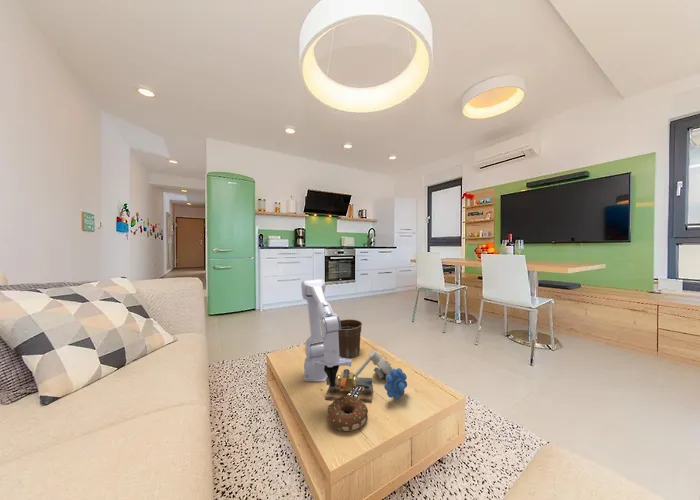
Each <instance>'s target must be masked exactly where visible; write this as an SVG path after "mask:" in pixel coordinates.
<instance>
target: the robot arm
mask: <svg viewBox="0 0 700 500" xmlns="http://www.w3.org/2000/svg"><path fill="white" fill-rule="evenodd" d="M325 290H326V282H325V280H324V279H323V278H319V279H318V278H316V279H307V280H302V282H301V296H302V300H303V299H304V300H306V303H307V311H308V321H309V330H310V336H309V337H308V338H307V339H306V340H305V347H304V349H305V358H304V363H303V369H304V370H303V371H304V379H303V380H304V381H305V382H318V383H319V382H321V383H324V382H325V383H326V380H327V376H328V378H329V381H330V385H331V386H334V385H335V379H336V377H337V373H338V372H339V368H340V366H343V367H345V366H347V367H349V368H351V367H352V365H353V364H352V361H353V360H352V358H342V357H341V356H339V335H338V331H340V328H341V324H340V320H341V319H340V316H339V315H338V314H337V313H335V312H334V310H333V308H332V306H331V303H330V302H328V301H327V300H326V296H325Z"/></svg>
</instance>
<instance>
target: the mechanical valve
mask: <svg viewBox="0 0 700 500" xmlns="http://www.w3.org/2000/svg"><path fill="white" fill-rule="evenodd" d="M371 361H372V362H371ZM370 362H371V363H372V364H373V365H374V366H375V368H374V369H373V371H374V372H375V373H376V374H377V376H378V377H379V378H380V379H384V377H385V376H387V375H388V374H389V375H390V371H391V370H392V369H395V367H392V366H391V365H392V364H391V363H390V362H389V361H388V360H387V359H385V358H383V356H382V355H381V354H379V353H378V352H377V351H376V350H375V349H372V350H371V351H370V352H369V353H368V358H367V359H366V360H365V361H364V362H363V363H362V364H361V366H360V367H358V369H357V370H356V371H355V372H354V376H357V377H358V376H359V375H360V374H361V372H362V371H363V370H364V369H365V368H366V366H367V365H368V364H369V363H370ZM396 369H397V368H396ZM396 369H395V370H396ZM384 374H385V375H384Z"/></svg>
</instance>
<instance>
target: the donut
mask: <svg viewBox="0 0 700 500" xmlns="http://www.w3.org/2000/svg"><path fill="white" fill-rule="evenodd" d="M346 412H348V413H346ZM368 412H369V410H368V407H367V405H366V403H365V402H363V401H361V400H359V399H358V398H357V397H353V396H346V397H345V396H344V397H340V398H337V399H336V400H332V403H330V404H329V405H328V406H327V417H326V418H327V420H328V422H329V424H330V425H331V426H332V427H333V428H335V429H337V430H339V431H342V432H351V431H354V430H358V429H359V428H361V427H362V426H363V425H364V424H365V423H366V421H367V419H368V414H369V413H368Z"/></svg>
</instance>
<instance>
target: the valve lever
mask: <svg viewBox="0 0 700 500" xmlns="http://www.w3.org/2000/svg"><path fill="white" fill-rule="evenodd" d="M343 372H344V375H343V378H341V381H340V385H339V388H340V389H345V387H346V383H347V377H348V375H349V374H350V369H348V368H347V369H344V370H343Z"/></svg>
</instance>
